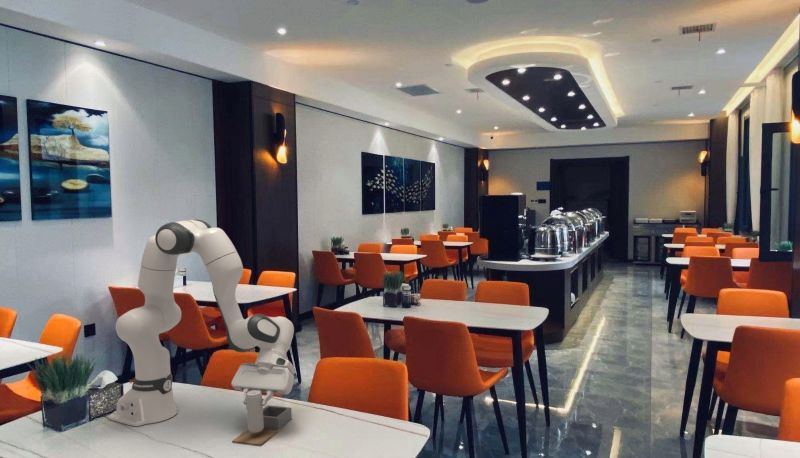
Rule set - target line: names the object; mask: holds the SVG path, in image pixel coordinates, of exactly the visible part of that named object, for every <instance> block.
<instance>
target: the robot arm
mask: <svg viewBox="0 0 800 458" xmlns="http://www.w3.org/2000/svg"><path fill="white" fill-rule="evenodd" d="M145 244H146V245H145V248H144V250H143V253H142V257H141V263H140V269H139V275H138V281H137V287H138V290H139V291H141V293H143V295H144V305H142V306H139V307H135V308H133V309H130V310H128V311H127V312H125V313H123V314H122V315H120V316H119V317H118V318H117V320H116V322H115V331H116V334H117V336H118V338H119V339H121V341H123V342H125V343H126V344H127V345H128V346H129V348H130V350H131V353H132V357H133V361H134V373H135V376H134V378H132V379H129V381H128V382H129V384H132V386H131V388H130V389H129V390H128V391H126V392H125V393H123V395H122V396H121V397H120V398H119V399H118V400H117V403H116V410H114V411H113V412H112V413H111V414H110V415H109V416H108V419H109V420H110V421H113V422H114V421H115V422H118V423H121V424H125V425H128V426H133V427H140V426H144V425H149V424H156V423H159V422H163V421H166V420H168V419H171V418H172V417H174V416H175V415H176V414H178V408H177V404H176V401H175V397H174V392H173V374H172V371H171V358H170V357H171V356H170V351H169V349H167V348H166V347H165V346H163V345H162V344H161V341H160V334H164V333H166V332H169V331H170V330H171V329H173V328H174V327H176V326H177V325H178V324H179V323H180V321H181V320H182V310H181V308H180V306H179V305H178V304H177V303H176V301H175V296H174V295H175V294H174V284H175V276H176V270H177V265H178V264H177V263H178V258H179V256H180V255H182V254H185V255H186V254H190V253H192V252H194V253H196V254H197V255H198V256H199V257H200V258H201V260H202V263H203V265H204V267H205V269H206V272H207V273H208V276H209V278H210V279H209V280H210V282H211V286H212V291H213V296H214V298H215V301H216V305H217V307H218V310H219V313H220V315H221V318H222V321H223V322H224V327H225V332H226V333H225V334H226V341H227V344H228V346H229V347H230V348H231V349H232V350H233V351H235V352H237V353H247V352H249V351H251V350H252V349H253V348H255V347H258V348H259V352H258V354H257V357H256V360H255V362H247V361H246V362H244V363H242V364H240V365H239V367H238V369H237V371H236V372H235V375H234V376H233V378H232V380H231V383H230V385H231V387H232V388H233V389H234V390H235V391H239V392H241V391H242V392H243V397H244V398H243V400H242V404H244V405H246V393H247V392H249V391H251V390H260V391H261V393H264V394H266V395H265V396H264V397H263V398H262V399H261V402H260V405H261V406H263V407H266V406H268V405H267V404H268V402H269V401H270V400H271V399H272V398H273V397H274V395H275V394H276V395H285V396H287V395H289V394H290V393H291V391H292V389H293V386H294V382H295V374H296V367H295V366H294V365H293V364H292V363H291V361H290V360H288V359H286V358H287V357H286V355H287V352H288V351H289V350H290V347H291V344H292V340H293V337H294V333H295V327H294V324H293V322H292V321H291V320H289V319H288V318H287V317H284V316H279V315H278V316H267V315H266V314H263V313H256V314H252V315H251V316H248V317H247V318H246V319H245V318H244V317H243V314H242V312H241V309H240V306H239V304H238V301H237V299H236V291H237V287H238V285H239V282H240V280H241V279H242V277H243V272H244V266H243V262H242V259H241V257H240V255H239V253H238V250H237V249H236V247H235V245H234V244H233V242H232V240H231V239H230V237H229V236H228V234H226V232H225V231H224V229H222V228H220V227H212V226H211V225H210V224H209V223H208V222H206V221H204V220H203V219H202V220H201V219H183V220H182V219H181V220H179V221H171V222H167V223H165V224H164V225H163V224H162V225H161V226H160V227H159V228H158V230H157V231H156V233H155V235H152V236H150V237H149V238H148V239H147V241H146V243H145Z"/></svg>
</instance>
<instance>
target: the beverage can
mask: <svg viewBox="0 0 800 458" xmlns="http://www.w3.org/2000/svg"><path fill="white" fill-rule="evenodd" d="M261 399H263V394H262V392H261V391H260V390H251V391H249V392H247V393H246V404H245V405H246V418H247V420H246V421H247V429H248V430H249V431H250V432H252V433H257V432H260V431H262V430H263V428H264V420H263V408H264V406H261V405H260V402H261Z"/></svg>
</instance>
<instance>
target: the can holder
mask: <svg viewBox="0 0 800 458" xmlns="http://www.w3.org/2000/svg"><path fill="white" fill-rule="evenodd" d="M292 412H293V411H292V407H290V406H279V405H270V404H268V405H266V406H264V407H263V420H264V428H263V429H271V430H278V431H280V430H281V429H282V428H283V427H285V426H286V425H287V424H288V423H289V422H290V421H292V420H293V418H292V417H293V414H292Z"/></svg>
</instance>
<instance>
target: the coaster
mask: <svg viewBox="0 0 800 458" xmlns="http://www.w3.org/2000/svg"><path fill="white" fill-rule="evenodd" d="M278 433H279V430H271V429H263V430H262V431H260V432H257V433H252V432H250V431H249V430H248V428H247V429H246V430H244V431H243V432H242V433H241V434H239V435H237V436H236V437H235V438H234V439H232V442H231V443H232V444H240V445H248V446H256V447H262V446H263V445H264V444H266V443H267V442H268V441H269V440H271V438H273V437H274V436H276V434H278Z"/></svg>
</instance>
